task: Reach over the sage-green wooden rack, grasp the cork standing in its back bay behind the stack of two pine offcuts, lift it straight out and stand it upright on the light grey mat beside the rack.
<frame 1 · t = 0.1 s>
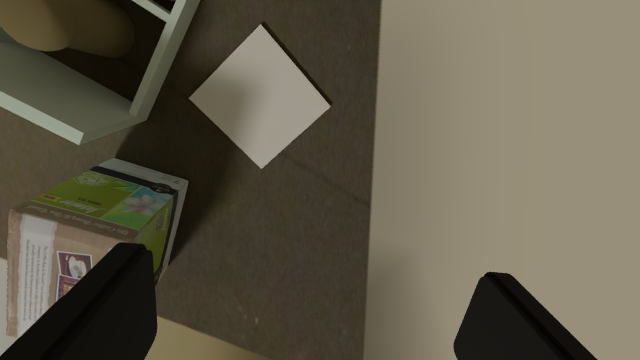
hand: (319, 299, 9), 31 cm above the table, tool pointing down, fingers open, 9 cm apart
mat: (261, 102, 37), on the table
tea box: (142, 215, 41), on the table
cork: (107, 29, 33), on the table
rack: (106, 28, 33), on the table
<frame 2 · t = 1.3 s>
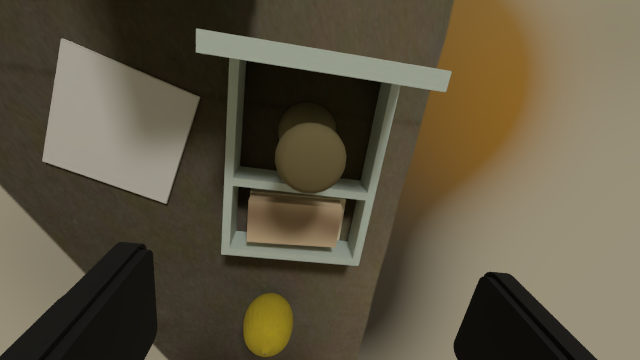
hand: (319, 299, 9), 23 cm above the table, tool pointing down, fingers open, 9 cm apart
mat: (121, 129, 29), on the table
offcut lower: (296, 207, 34), on the table, touching offcut upper
lemon: (271, 295, 38), on the table
cork: (307, 131, 31), on the table
rack: (307, 132, 30), on the table
offcut upper: (294, 215, 32), point 2 cm above the table, touching offcut lower
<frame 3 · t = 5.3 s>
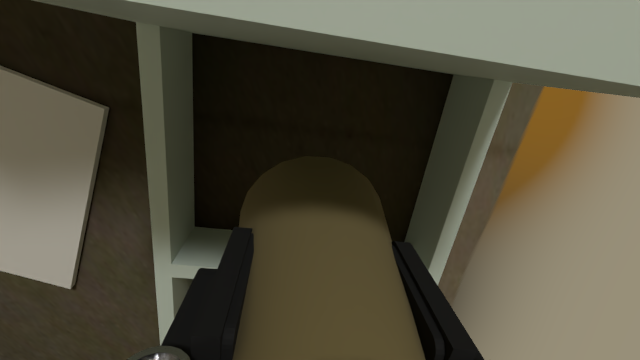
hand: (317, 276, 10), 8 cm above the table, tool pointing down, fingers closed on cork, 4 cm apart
cork: (312, 221, 13), point 5 cm above the table, touching gripper
rack: (312, 168, 17), on the table
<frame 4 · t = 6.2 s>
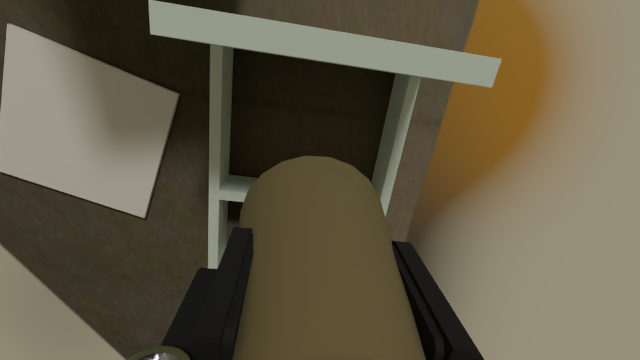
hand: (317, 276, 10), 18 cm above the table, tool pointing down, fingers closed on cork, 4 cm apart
mat: (87, 132, 25), on the table
cork: (312, 221, 13), point 14 cm above the table, touching gripper
rack: (307, 134, 26), on the table
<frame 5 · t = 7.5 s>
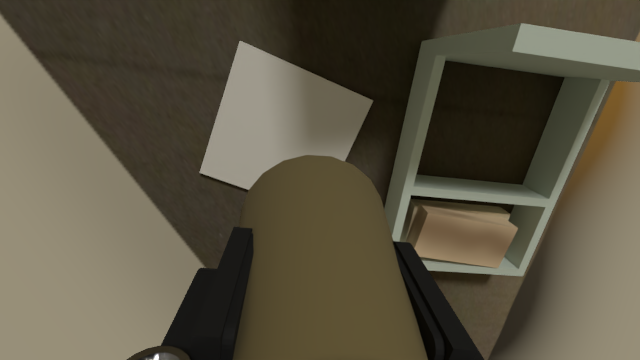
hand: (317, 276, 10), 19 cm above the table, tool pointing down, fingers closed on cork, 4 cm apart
mat: (284, 136, 27), on the table
offcut lower: (446, 221, 32), on the table, touching offcut upper
cork: (313, 221, 13), point 16 cm above the table, touching gripper
rack: (476, 134, 28), on the table
offcut upper: (454, 231, 30), point 2 cm above the table, touching offcut lower
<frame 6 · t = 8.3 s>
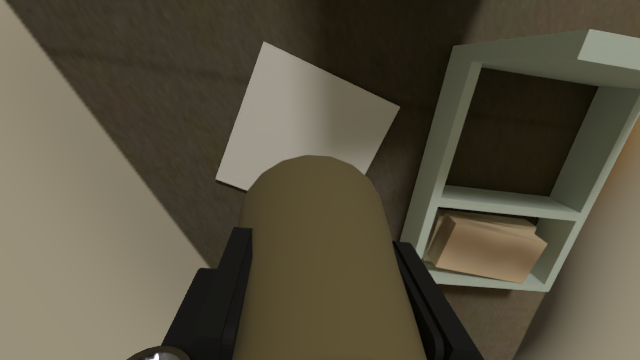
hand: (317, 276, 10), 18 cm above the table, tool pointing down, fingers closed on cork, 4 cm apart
mat: (305, 142, 26), on the table
offcut lower: (468, 232, 31), on the table, touching offcut upper
cork: (312, 221, 13), point 14 cm above the table, touching gripper
rack: (504, 144, 27), on the table
offcut upper: (479, 242, 29), point 2 cm above the table, touching offcut lower
when the fingers open (5 cm above the table, at t = 10.8 s): cork stays where it is, resting on mat.
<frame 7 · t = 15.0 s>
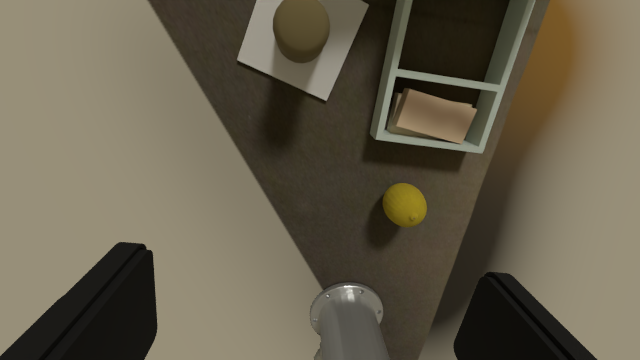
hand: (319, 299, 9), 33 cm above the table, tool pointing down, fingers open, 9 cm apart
mat: (301, 33, 36), on the table
offcut lower: (424, 115, 41), on the table, touching offcut upper
lemon: (394, 192, 45), on the table
cork: (300, 36, 36), resting on mat
rack: (447, 38, 37), on the table
offcut upper: (430, 115, 39), point 2 cm above the table, touching offcut lower
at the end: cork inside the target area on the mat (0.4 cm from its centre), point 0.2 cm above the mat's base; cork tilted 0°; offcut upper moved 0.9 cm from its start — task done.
